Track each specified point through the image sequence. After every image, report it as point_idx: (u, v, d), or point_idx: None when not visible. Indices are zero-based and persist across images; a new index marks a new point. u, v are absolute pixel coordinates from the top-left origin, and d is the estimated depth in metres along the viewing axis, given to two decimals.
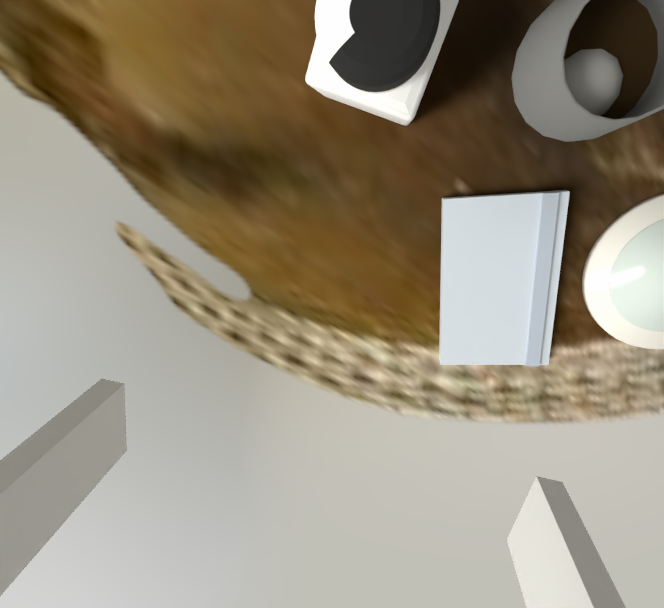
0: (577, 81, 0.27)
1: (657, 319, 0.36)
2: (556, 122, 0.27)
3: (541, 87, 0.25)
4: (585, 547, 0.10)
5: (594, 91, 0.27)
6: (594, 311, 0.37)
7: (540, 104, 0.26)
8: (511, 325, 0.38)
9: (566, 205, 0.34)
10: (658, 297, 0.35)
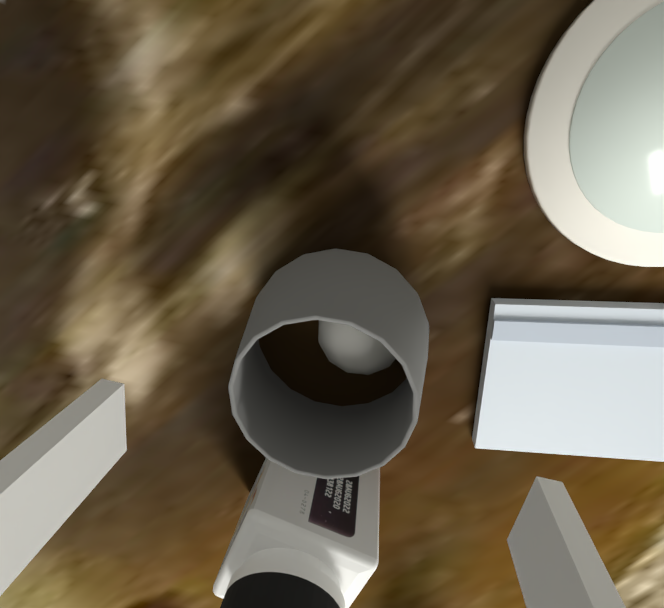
0: (354, 364, 0.21)
1: None
2: None
3: None
4: (585, 547, 0.10)
5: (368, 347, 0.20)
6: None
7: None
8: None
9: (515, 306, 0.23)
10: None
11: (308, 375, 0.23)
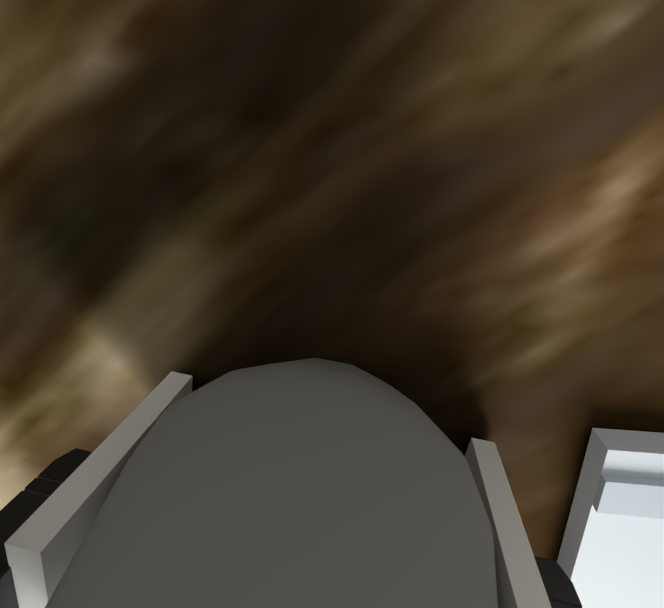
0: None
1: None
2: None
3: None
4: (503, 493, 0.11)
5: None
6: None
7: None
8: None
9: (649, 456, 0.12)
10: None
11: None
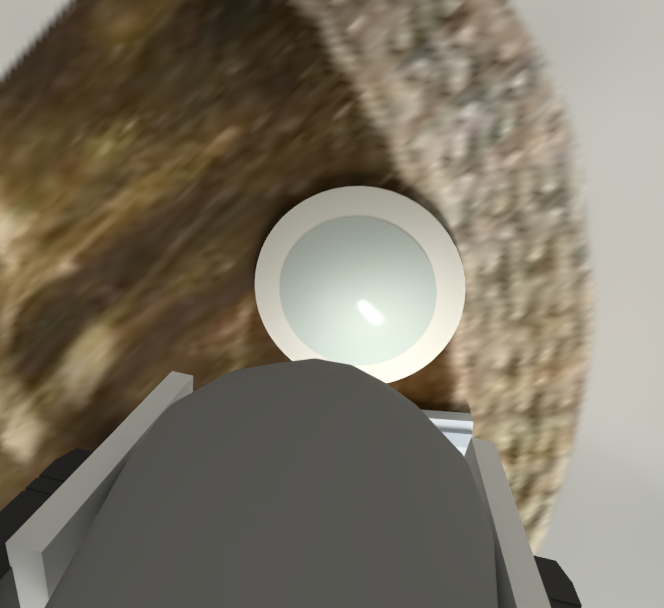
0: None
1: (416, 310, 0.27)
2: None
3: None
4: (503, 493, 0.11)
5: None
6: (400, 375, 0.29)
7: None
8: None
9: None
10: (384, 313, 0.27)
11: None
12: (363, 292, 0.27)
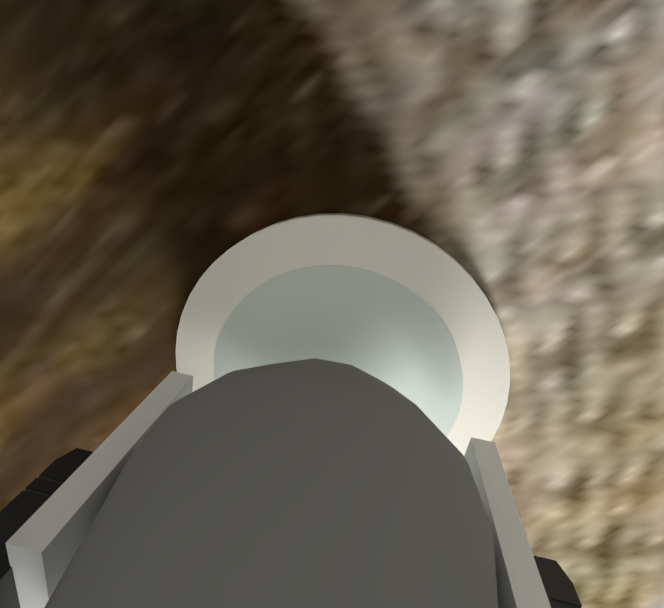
0: None
1: (429, 411, 0.17)
2: None
3: None
4: (503, 493, 0.11)
5: None
6: None
7: None
8: None
9: None
10: None
11: None
12: None
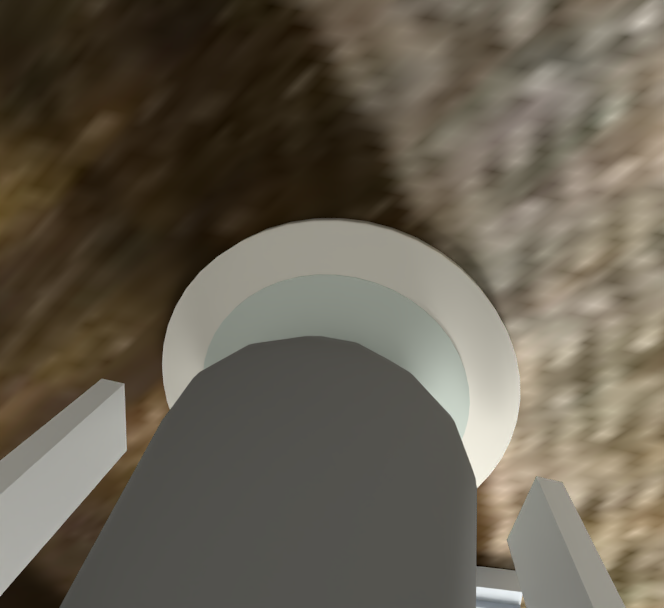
0: None
1: None
2: None
3: None
4: (585, 547, 0.10)
5: None
6: None
7: None
8: None
9: None
10: None
11: None
12: None
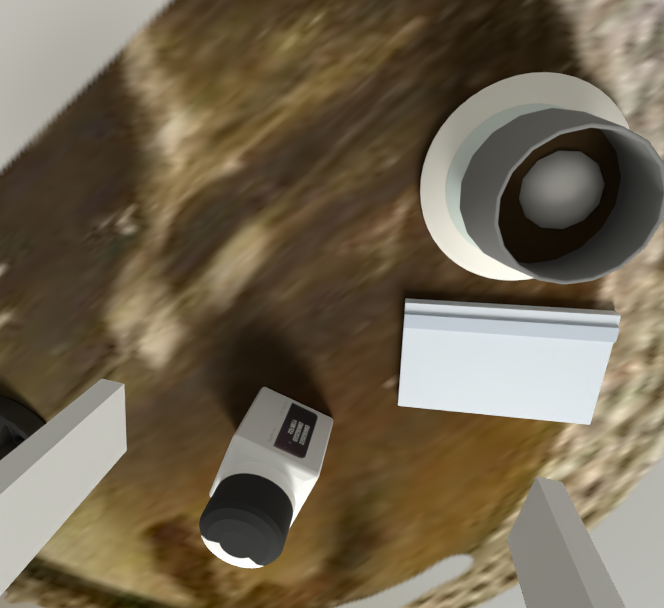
0: (560, 212, 0.24)
1: None
2: None
3: None
4: (585, 547, 0.10)
5: (578, 193, 0.23)
6: None
7: None
8: (552, 354, 0.33)
9: (419, 304, 0.33)
10: None
11: (503, 234, 0.26)
12: None
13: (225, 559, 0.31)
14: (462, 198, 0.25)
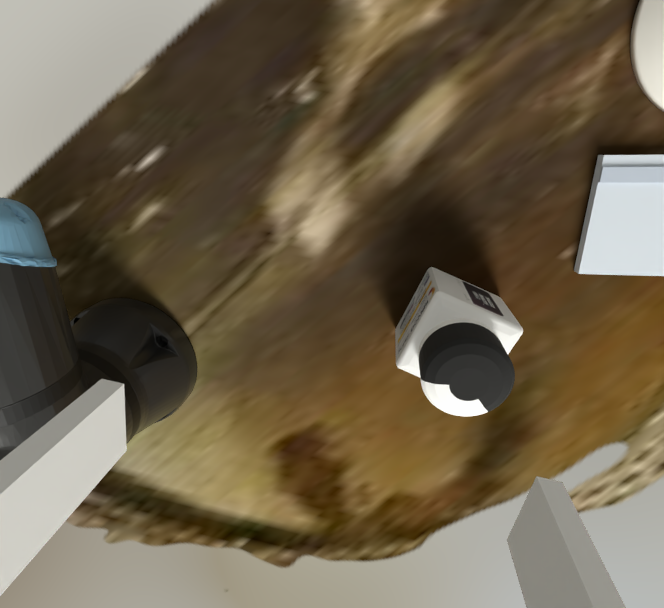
0: None
1: None
2: None
3: None
4: (585, 547, 0.10)
5: None
6: None
7: None
8: None
9: (618, 156, 0.33)
10: None
11: None
12: None
13: (449, 405, 0.30)
14: None
